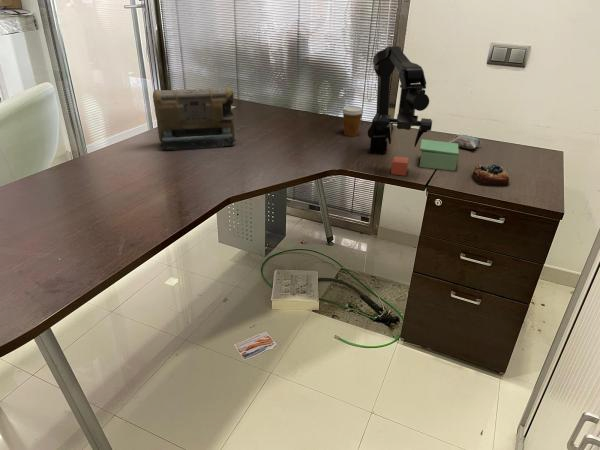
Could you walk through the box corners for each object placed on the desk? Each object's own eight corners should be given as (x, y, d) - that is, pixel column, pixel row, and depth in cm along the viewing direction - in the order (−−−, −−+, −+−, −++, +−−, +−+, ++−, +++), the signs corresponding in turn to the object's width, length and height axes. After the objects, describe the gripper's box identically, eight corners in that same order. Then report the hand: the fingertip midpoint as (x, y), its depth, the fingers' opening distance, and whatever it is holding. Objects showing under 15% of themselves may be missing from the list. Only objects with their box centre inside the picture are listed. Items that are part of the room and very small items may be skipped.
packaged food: (473, 153, 192) (476, 141, 190) (447, 146, 199) (449, 135, 196) (481, 148, 198) (484, 137, 196) (456, 142, 205) (458, 131, 202)
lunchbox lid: (419, 150, 175) (420, 148, 175) (421, 140, 185) (421, 139, 184) (458, 155, 172) (458, 153, 172) (457, 145, 182) (458, 143, 181)
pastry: (469, 173, 173) (472, 159, 170) (500, 174, 173) (504, 159, 170) (477, 185, 163) (481, 170, 160) (511, 186, 163) (515, 171, 160)
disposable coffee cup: (364, 133, 214) (366, 107, 208) (355, 138, 207) (357, 112, 201) (346, 129, 219) (348, 104, 213) (337, 134, 211) (338, 109, 206)
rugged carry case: (232, 136, 208) (229, 80, 196) (238, 146, 197) (235, 87, 184) (159, 143, 199) (150, 85, 187) (161, 154, 188) (152, 92, 175)
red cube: (390, 173, 172) (392, 161, 169) (392, 168, 177) (393, 156, 174) (405, 175, 171) (407, 163, 168) (407, 170, 175) (408, 158, 173)
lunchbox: (419, 166, 178) (421, 151, 175) (420, 156, 188) (423, 142, 185) (455, 170, 175) (458, 155, 172) (455, 160, 185) (457, 145, 182)
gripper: (378, 106, 156) (374, 149, 164) (434, 111, 152) (427, 155, 159) (382, 98, 165) (378, 139, 173) (435, 103, 161) (428, 145, 169)
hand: (402, 145), depth 168 cm, fingers open, 9 cm apart
